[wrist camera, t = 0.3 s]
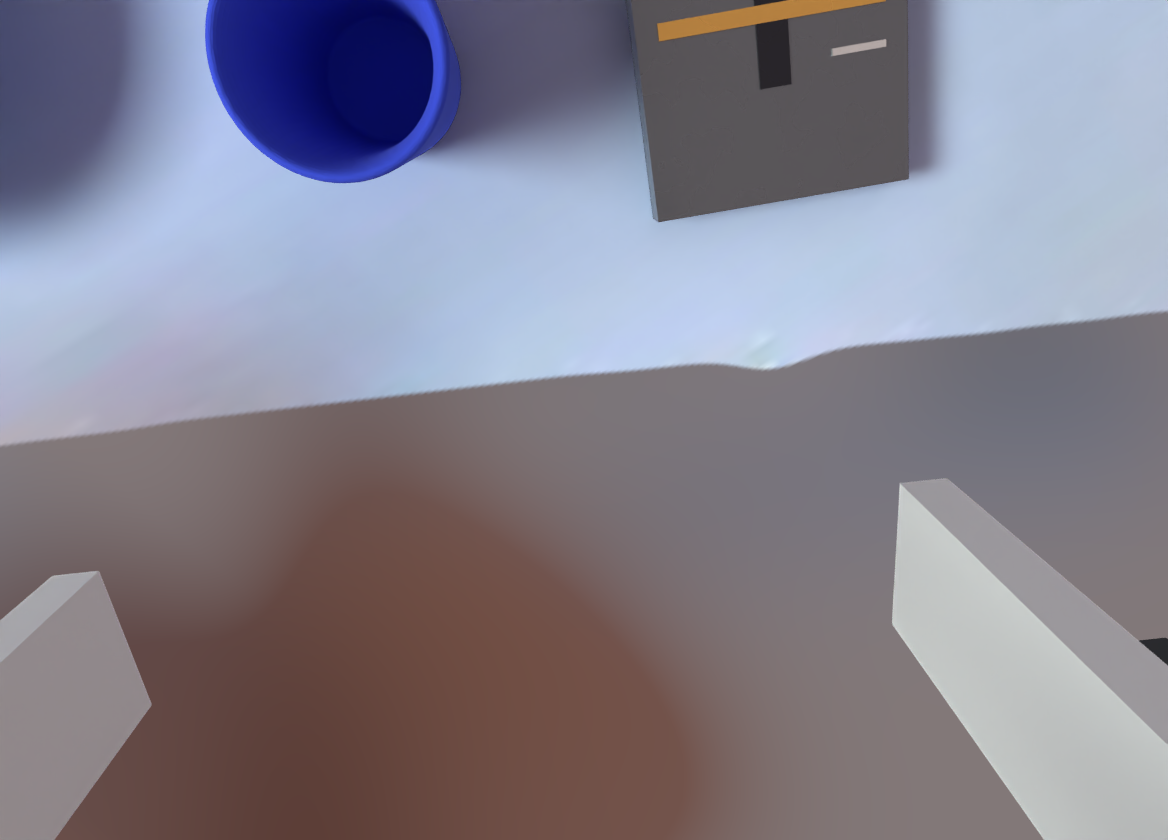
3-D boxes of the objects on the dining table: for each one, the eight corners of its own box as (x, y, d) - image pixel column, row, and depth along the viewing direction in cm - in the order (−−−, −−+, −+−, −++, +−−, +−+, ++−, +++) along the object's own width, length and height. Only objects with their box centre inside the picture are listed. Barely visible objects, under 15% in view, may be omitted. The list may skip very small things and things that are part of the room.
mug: (370, -150, 31) (289, -279, 22) (509, 122, 35) (492, 112, 26) (211, -48, 32) (69, -129, 23) (364, 205, 36) (297, 224, 27)
